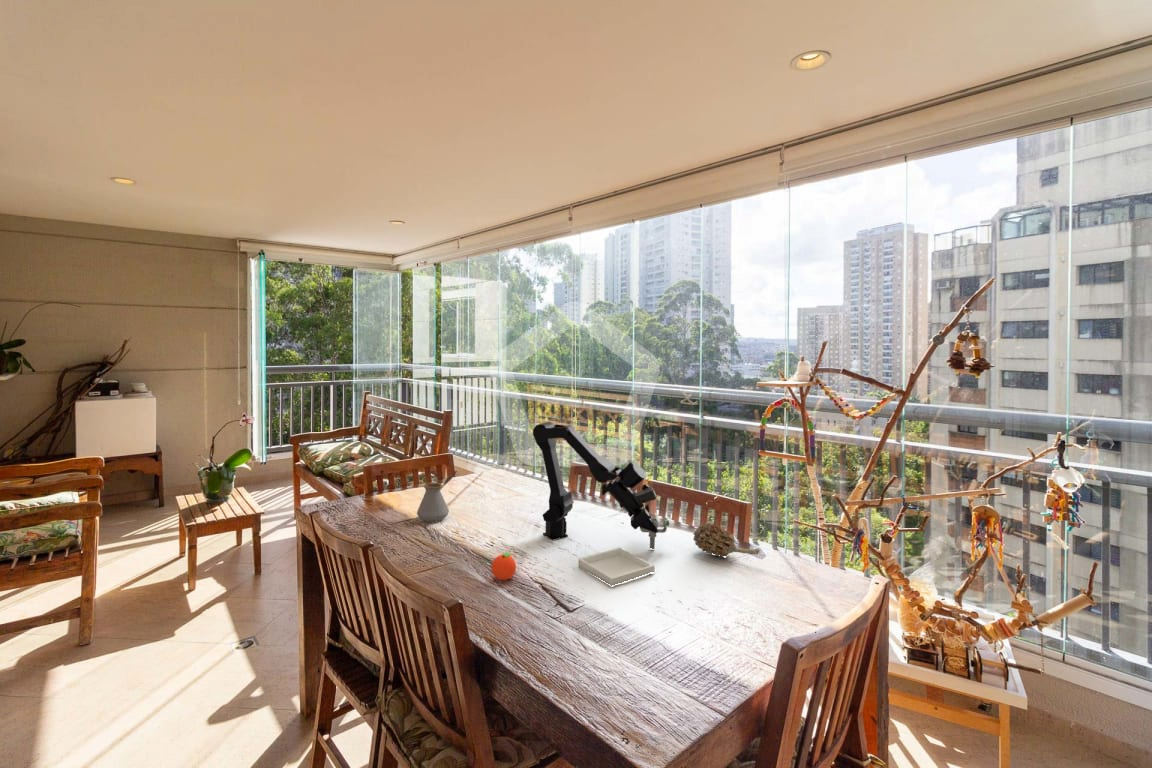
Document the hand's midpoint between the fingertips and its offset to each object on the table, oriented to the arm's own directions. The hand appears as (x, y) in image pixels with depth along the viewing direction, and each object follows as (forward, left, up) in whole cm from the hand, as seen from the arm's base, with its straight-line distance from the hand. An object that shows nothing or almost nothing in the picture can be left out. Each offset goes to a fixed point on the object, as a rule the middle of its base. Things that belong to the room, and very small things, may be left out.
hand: (656, 530), depth 182 cm
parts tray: (-21, -5, -7) cm, 23 cm away
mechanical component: (-1, +1, -7) cm, 7 cm away
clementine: (-51, +8, -7) cm, 52 cm away
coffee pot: (-46, +69, -7) cm, 83 cm away
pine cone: (+14, -17, -7) cm, 23 cm away
